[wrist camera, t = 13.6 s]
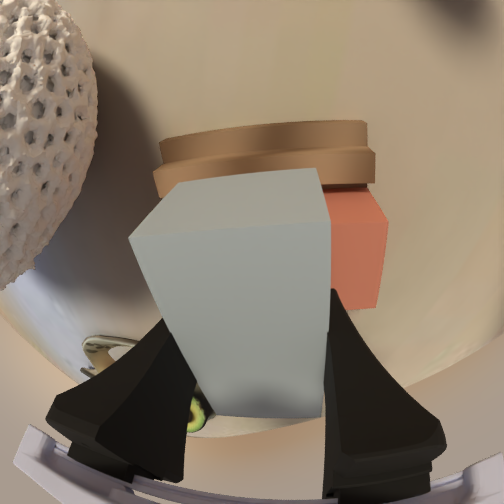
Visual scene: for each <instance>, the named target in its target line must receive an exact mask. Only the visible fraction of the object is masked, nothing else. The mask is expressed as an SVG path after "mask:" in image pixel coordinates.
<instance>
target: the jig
mask: <svg viewBox="0 0 504 504" xmlns="http://www.w3.org/2000/svg"><path fill="white" fill-rule="evenodd" d="M159 145H160V150H161V154H162V159H163V163H164V164H162V165H161V166H160V167H158V168H157V169H156V170H155V171H153V176H154V180H155V183H156V187H157V191H158V195H159V198H164V197H165V196H166V195H167V194H168V193H169V192H170V191H171V190H172V189H173V188H174V187H175V186H176V185H177V184H178V183H179V182H186V181H193V180H199V179H207V178H214V177H222V176H230V175H238V174H247V173H257V172H267V171H278V170H290V169H303V168H316V170H317V173H318V176H319V180H320V183H321V187H322V189H336V188H367V183H375V153H374V152H373V151H372V150H371V149H370V148H369V147H368V146H367V123H366V122H364V121H362V120H332V121H303V122H286V123H273V124H262V125H252V126H243V127H235V128H227V129H220V130H213V131H206V132H200V133H194V134H189V135H183V136H178V137H173V138H167V139H165V140H163V141H161V142H159Z"/></svg>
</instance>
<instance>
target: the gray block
mask: <svg viewBox="0 0 504 504" xmlns="http://www.w3.org/2000/svg"><path fill="white" fill-rule="evenodd" d="M128 239H129V241H130V244H131V246H132V249H133V251H134V254H135V256H136V259H137V261H138V264H139V266H140V268H141V271H142V273H143V275H144V278H145V280H146V282H147V285H148V287H149V289H150V291H151V294H152V296H153V298H154V300H155V302H156V304H157V306H158V309H159V311H160V313H161V315H162V317H163V319H164V321H165V323H166V325H167V327H168V329H169V331H170V332H171V333H172V335H173V337H174V339H175V341H176V343H177V345H178V346H179V348H180V350H181V352H182V354H183V356H184V358H185V360H186V362H187V363H188V365H189V367H190V369H191V371H192V372H193V374H194V376H195V378H196V380H197V383H198V385H199V387H200V388H201V390H202V392H203V393H204V395H205V397H206V398H207V400H208V402H209V403H210V405H211V407H212V408H213V410H214V411H215V413H216V415H223V416H235V417H253V418H316V417H321V412H322V403H323V394H324V384H323V382H324V371H325V358H326V343H327V332H329V316H330V289H331V220H330V216H329V212H328V209H327V205H326V201H325V198H324V194H323V190H322V187H321V183H320V180H319V176H318V173H317V170H316V168H303V169H290V170H278V171H267V172H257V173H247V174H238V175H230V176H222V177H214V178H207V179H199V180H193V181H186V182H179V183H178V184H177V185H176V186H175V187H174V188H173V189H172V190H171V191H170V192H169V193H168V194H167V195H166V196H165V197H164V198H163V199H162V200H161V201H160V203H159V204H158V205H157V206H156V207H155V208H154V209H153V210H152V211H151V212H150V213H149V215H148V216H147V217H146V218H145V219H144V220H143V221H142V222H141V224H140V225H139V226H138V227H137V228H136V229H135V230H134V232H133V233H132V234H131V235H130V236H129V237H128Z"/></svg>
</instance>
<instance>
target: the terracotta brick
mask: <svg viewBox="0 0 504 504" xmlns="http://www.w3.org/2000/svg"><path fill="white" fill-rule="evenodd" d="M322 190H323V194H324V198H325V201H326V205H327V209H328V212H329V216H330V220H331V288H334V289H336V290H337V293H338V295H339V298H340V300H341V302H342V304H343V306H344V308H345V310H352V309H366V308H376V304H377V299H378V293H379V288H380V282H381V276H382V270H383V263H384V256H385V248H386V240H387V232H388V220H387V218H386V217H385V215H384V213H383V212H382V210H381V209H380V207H379V205H378V204H377V202H376V201H375V199H374V197H373V196H372V194H371V193H370V191H369V190H368V188H336V189H322Z"/></svg>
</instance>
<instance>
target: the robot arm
mask: <svg viewBox="0 0 504 504" xmlns="http://www.w3.org/2000/svg"><path fill="white" fill-rule="evenodd" d="M196 384H197V380H196V378H195V376H194V374H193V372H192V371H191V369H190V367H189V365H188V363H187V362H186V360H185V358H184V356H183V354H182V352H181V350H180V348H179V346H178V345H177V343H176V341H175V339H174V337H173V335H172V333H171V332H170V331H169V329H168V327H167V325H166V323H165V321H164V319H163V318H162V319H161V320H160V321H159V322H158V323H157V324H156V325H155V326H154V327H153V328H152V329H151V330H150V331H149V332H148V333H147V334H146V335H145V336H144V337H143V338H142V339H141V340H140V341H139V342H138V343H137V344H136V345H135V346H134V347H133V348H132V349H130V350H129V351H128V352H127V353H126V354H125V355H123V356H122V357H121V358H120V359H118V360H117V361H116V362H114V363H113V364H112V365H110V366H109V367H107V368H106V369H104V370H103V371H102V372H100V373H99V374H97V375H95V376H94V377H92V378H91V379H89V380H87V381H85V382H84V383H82V384H80V385H78V386H76V387H74V388H72V389H70V390H68V391H66V392H63V393H61V394H59V395H57V396H56V398H55V399H54V402H53V404H52V406H51V408H50V410H49V412H48V414H47V416H46V421H47V423H48V424H49V425H50V426H52V427H53V428H54V429H55V430H57V431H58V432H59V433H61V434H62V435H63V436H65V437H66V438H68V439H69V440H71V441H72V443H71V446H70V448H68V447H66V446H64V445H62V444H60V443H59V442H57V441H55V440H54V439H53V438H52V437H50V436H49V435H47V434H46V433H44V432H43V431H41V430H39V429H37V428H36V427H34V426H32V425H31V424H30V425H29V426H28V428H27V430H26V432H25V434H24V437H23V439H22V441H21V444H20V446H19V448H18V450H17V453H16V455H15V458H14V460H13V463H14V465H15V466H17V467H18V468H19V469H21V470H22V471H23V472H24V473H26V474H27V475H28V476H29V477H31V478H32V479H33V480H34V481H35V482H36V483H38V484H39V485H40V486H41V487H42V488H44V489H45V490H46V491H47V492H48V493H50V494H51V495H52V496H54V497H55V498H56V499H57V500H59V501H60V502H61V503H63V504H160V503H156V502H154V501H150V500H148V499H145V498H142V497H139V496H136V495H135V494H134V491H133V490H132V489H134V490H136V491H139V492H142V493H145V494H149V495H152V496H155V497H159V498H162V499H166V500H169V501H173V502H177V503H181V504H504V459H503V455H502V452H499V453H497V454H494V455H492V456H490V457H488V458H486V459H483V460H481V461H479V462H476V463H474V464H472V465H470V466H469V467H467V468H465V469H464V470H463V471H460V472H457V473H455V474H452V475H449V476H446V477H443V478H439V479H437V480H433V481H430V475H429V472H431V471H432V462H431V461H432V460H434V459H435V458H437V457H438V456H439V455H441V454H442V453H443V452H444V451H445V450H446V447H447V444H446V438H445V434H444V431H443V428H442V426H441V423H440V421H439V419H437V418H436V417H435V416H433V415H432V414H431V413H430V412H428V411H427V410H426V409H425V408H423V407H422V406H421V405H420V404H419V403H418V402H417V401H416V400H414V399H413V398H412V397H411V396H410V395H409V394H408V393H407V392H406V391H405V390H404V389H403V388H402V387H401V386H400V385H399V384H398V383H397V382H396V380H395V379H394V378H393V377H392V376H391V375H390V374H389V373H388V372H387V371H386V369H385V368H384V367H383V366H382V365H381V363H380V362H379V361H378V360H377V358H376V357H375V356H374V354H373V353H372V352H371V350H370V349H369V347H368V346H367V345H366V343H365V342H364V340H363V339H362V337H361V336H360V334H359V333H358V331H357V329H356V328H355V326H354V324H353V323H352V321H351V319H350V317H349V316H348V314H347V312H346V310H345V308H344V306H343V304H342V302H341V300H340V298H339V295H338V293H337V290H336V289H334V288H331V289H330V316H329V332H327V343H326V358H325V371H324V382H323V384H324V392H325V405H326V426H325V427H326V428H325V461H324V480H323V492H322V499H318V500H272V499H256V498H244V497H235V496H227V495H220V494H213V493H207V492H202V491H196V490H191V489H187V488H182V487H178V486H173V485H169V484H165V483H162V482H158V481H154V479H157V480H160V481H162V480H165V481H169V482H173V483H178V482H180V481H182V480H183V476H184V453H185V443H186V434H187V427H188V420H189V414H190V408H191V402H192V398H193V394H194V390H195V387H196ZM130 488H131V489H130Z"/></svg>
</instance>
